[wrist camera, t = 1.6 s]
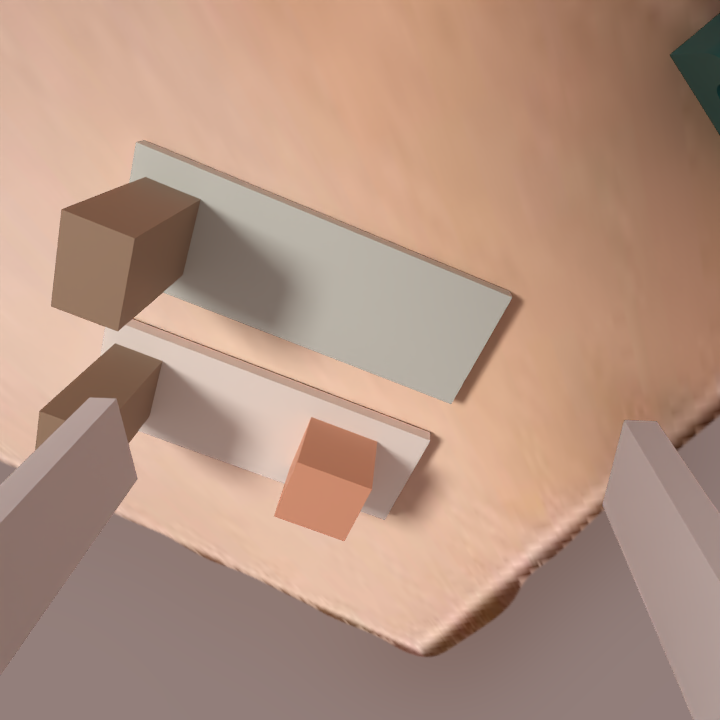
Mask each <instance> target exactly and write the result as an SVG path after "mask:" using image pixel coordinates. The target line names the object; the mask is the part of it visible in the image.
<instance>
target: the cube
mask: <svg viewBox="0 0 720 720" xmlns="http://www.w3.org/2000/svg"><path fill="white" fill-rule="evenodd" d="M376 449H377V441H374V440H372V439H369V438H366V437H364V436H361V435H358V434H356V433H353V432H350V431H348V430H345V429H342V428H340V427H337V426H334V425H332V424H329V423H326V422H324V421H321V420H318V419H316V418H313V417H311V419H310V421H309V424H308V426H307V428H306V431H305V433H304V435H303V438H302V440H301V443H300V445H299V447H298V450H297V452H296V454H295V457H294V459H293V461H292V464H291V466H290V469H289V472H288V475H287V478H286V481H285V484H284V487H283V491H282V494H281V497H280V500H279V503H278V506H277V509H276V512H275V515H274V516H275V517H278V518H280V519H283V520H286V521H289V522H292V523H295V524H297V525H300V526H303V527H306V528H309V529H311V530H314V531H317V532H320V533H323V534H326V535H328V536H331V537H334V538H337V539H340V540H342V541H345V539H346V537H347V535H348V533H349V532H350V530H351V528H352V526H353V524H354V522H355V520H356V518H357V517H358V515H359V513H360V511H361V509H362V507H363V505H364V504H365V502H366V500H367V498H368V496H369V494H370V492H371V490H372V485H373V476H374V467H375V458H376Z"/></svg>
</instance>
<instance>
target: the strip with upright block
mask: <svg viewBox="0 0 720 720" xmlns="http://www.w3.org/2000/svg"><path fill="white" fill-rule="evenodd" d="M162 293H166V294H168V295H171V296H174V297H176V298H179V299H181V300H184V301H187V302H189V303H192V304H194V305H197V306H199V307H202V308H205V309H207V310H210V311H212V312H215V313H217V314H220V315H223V316H225V317H228V318H230V319H233V320H235V321H238V322H241V323H243V324H246V325H248V326H251V327H254V328H256V329H259V330H261V331H264V332H266V333H269V334H272V335H274V336H277V337H279V338H282V339H284V340H287V341H290V342H292V343H295V344H297V345H300V346H303V347H305V348H308V349H310V350H313V351H315V352H318V353H321V354H323V355H326V356H328V357H331V358H333V359H336V360H339V361H341V362H344V363H346V364H349V365H352V366H354V367H357V368H359V369H362V370H364V371H367V372H370V373H372V374H375V375H377V376H380V377H382V378H385V379H388V380H390V381H393V382H395V383H398V384H401V385H403V386H406V387H408V388H411V389H413V390H416V391H419V392H421V393H424V394H426V395H429V396H431V397H434V398H437V399H439V400H442V401H444V402H447V403H450V404H452V402H453V400H454V398H455V397H456V395H457V393H458V391H459V390H460V388H461V386H462V384H463V383H464V381H465V379H466V377H467V376H468V374H469V372H470V371H471V369H472V367H473V365H474V364H475V362H476V360H477V358H478V357H479V355H480V353H481V351H482V350H483V348H484V346H485V344H486V343H487V341H488V339H489V337H490V336H491V334H492V332H493V330H494V329H495V327H496V325H497V323H498V322H499V320H500V318H501V316H502V315H503V313H504V311H505V309H506V308H507V306H508V304H509V302H510V301H511V299H512V295H511V293H510V291H508V290H505V289H503V288H500V287H498V286H496V285H493V284H491V283H488V282H486V281H483V280H481V279H479V278H476V277H474V276H471V275H469V274H466V273H464V272H462V271H459V270H457V269H454V268H452V267H450V266H447V265H445V264H442V263H440V262H437V261H435V260H433V259H430V258H428V257H425V256H423V255H421V254H418V253H416V252H413V251H411V250H408V249H406V248H404V247H401V246H399V245H396V244H394V243H392V242H389V241H387V240H384V239H382V238H379V237H377V236H375V235H372V234H370V233H367V232H365V231H363V230H360V229H358V228H355V227H353V226H350V225H348V224H346V223H343V222H341V221H338V220H336V219H334V218H331V217H329V216H326V215H324V214H321V213H319V212H317V211H314V210H312V209H309V208H307V207H304V206H302V205H300V204H297V203H295V202H292V201H290V200H288V199H285V198H283V197H280V196H278V195H275V194H273V193H271V192H268V191H266V190H263V189H261V188H259V187H256V186H254V185H251V184H249V183H246V182H244V181H242V180H239V179H237V178H234V177H232V176H230V175H227V174H225V173H222V172H220V171H217V170H215V169H213V168H210V167H208V166H205V165H203V164H201V163H198V162H196V161H193V160H191V159H188V158H186V157H184V156H181V155H179V154H176V153H174V152H172V151H169V150H167V149H164V148H162V147H159V146H157V145H155V144H152V143H150V142H147V141H145V140H143V141H139V142H136V146H135V152H134V158H133V164H132V170H131V176H130V182H129V183H128V184H126V185H123V186H120V187H118V188H115V189H113V190H110V191H108V192H105V193H102V194H100V195H97V196H95V197H92V198H90V199H87V200H85V201H82V202H79V203H77V204H74V205H72V206H69V207H67V208H64V209H62V210H61V219H60V228H59V237H58V247H57V256H56V265H55V274H54V283H53V292H52V301H51V306H52V307H54V308H57V309H60V310H62V311H65V312H67V313H70V314H73V315H75V316H78V317H81V318H83V319H86V320H89V321H91V322H94V323H97V324H99V325H102V326H105V327H107V328H110V329H112V330H115V331H119V330H120V329H121V328H122V327H124V326H125V325H126V324H127V323H128V322H129V321H131V320H132V319H133V318H134V317H135V316H136V315H137V314H139V313H140V312H141V311H142V310H143V309H144V308H145V307H147V306H148V305H149V304H150V303H151V302H152V301H154V300H155V299H156V298H157V297H158V296H159V295H160V294H162Z"/></svg>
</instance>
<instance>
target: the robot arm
mask: <svg viewBox="0 0 720 720" xmlns="http://www.w3.org/2000/svg"><path fill="white" fill-rule="evenodd" d="M136 480H137V475H136V471H135V467H134V463H133V459H132V456H131V452H130V448H129V444H128V440H127V436H126V433H125V429H124V425H123V421H122V417H121V414H120V410H119V406H118V402H117V399H115V398H92V397H89V398H88V399H87V400H86V401H85V402H84V403H83V404H82V405H81V406H80V407H79V408H78V409H77V410H76V411H75V412H74V413H73V414H72V415H71V416H70V417H69V418H68V419H67V420H66V421H65V422H64V423H63V424H62V425H61V426H60V427H59V428H58V429H57V430H56V431H55V432H54V433H53V434H52V435H51V436H50V437H49V438H48V439H47V440H46V441H45V442H44V443H42V444H41V445H40V446H39V447H38V448H37V449H36V450H35V451H34V452H33V453H32V454H31V455H30V456H29V457H28V458H27V459H26V460H25V461H24V462H23V463H22V464H21V465H20V466H19V467H18V468H17V469H16V470H15V471H14V472H13V473H12V474H11V475H10V476H9V477H8V478H7V479H6V480H5V481H4V482H3V483H2V484H1V485H0V675H1V674H2V672H3V671H4V669H5V668H6V667H7V665H8V664H9V662H10V661H11V659H12V658H13V657H14V655H15V654H16V652H17V651H18V649H19V648H20V647H21V645H22V644H23V642H24V641H25V639H26V638H27V637H28V635H29V634H30V632H31V631H32V629H33V628H34V627H35V625H36V624H37V622H38V621H39V619H40V618H41V616H42V615H43V614H44V612H45V611H46V609H47V608H48V606H49V605H50V603H51V602H52V600H53V599H54V598H55V596H56V595H57V594H58V592H59V590H60V589H61V588H62V586H63V585H64V584H65V582H66V581H67V579H68V578H69V576H70V575H71V573H72V572H73V570H74V569H75V568H76V566H77V565H78V563H79V562H80V561H81V559H82V558H83V556H84V555H85V553H86V552H87V551H88V549H89V548H90V546H91V545H92V543H93V542H94V541H95V539H96V537H97V536H98V535H99V533H100V532H101V530H102V529H103V528H104V526H105V525H106V523H107V522H108V520H109V519H110V517H111V516H112V515H113V513H114V512H115V510H116V509H117V508H118V506H119V505H120V503H121V502H122V500H123V499H124V498H125V496H126V495H127V493H128V492H129V490H130V489H131V487H132V486H133V485H134V483H135V482H136ZM603 508H604V510H605V512H606V514H607V517H608V519H609V522H610V524H611V526H612V529H613V531H614V533H615V536H616V538H617V541H618V543H619V545H620V548H621V550H622V552H623V555H624V557H625V559H626V562H627V564H628V566H629V569H630V571H631V574H632V576H633V578H634V581H635V583H636V585H637V588H638V590H639V593H640V595H641V597H642V600H643V602H644V604H645V607H646V609H647V611H648V614H649V616H650V619H651V621H652V623H653V626H654V628H655V630H656V633H657V635H658V637H659V640H660V642H661V645H662V647H663V649H664V652H665V654H666V656H667V659H668V661H669V663H670V666H671V668H672V671H673V673H674V675H675V678H676V680H677V682H678V685H679V687H680V689H681V692H682V694H683V697H684V699H685V701H686V704H687V706H688V708H689V711H690V713H691V715H692V718H693V720H720V513H719V512H718V511H717V509H716V508H715V506H714V505H713V503H712V502H711V500H710V499H709V498H708V496H707V495H706V493H705V491H704V490H703V489H702V487H701V486H700V484H699V483H698V481H697V480H696V478H695V477H694V475H693V474H692V473H691V471H690V469H689V468H688V467H687V465H686V464H685V462H684V461H683V459H682V458H681V456H680V455H679V453H678V452H677V450H676V449H675V447H674V446H673V445H672V443H671V442H670V440H669V439H668V437H667V436H666V434H665V433H664V431H663V430H662V428H661V427H660V425H659V424H658V422H657V421H638V420H624V423H623V427H622V431H621V434H620V438H619V442H618V446H617V450H616V454H615V458H614V462H613V466H612V470H611V473H610V477H609V481H608V485H607V489H606V493H605V497H604V501H603Z"/></svg>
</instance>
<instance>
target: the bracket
mask: <svg viewBox="0 0 720 720" xmlns="http://www.w3.org/2000/svg"><path fill="white" fill-rule="evenodd" d="M670 56H671V58H672V59H673V61H674V63H675V64H676V66H677V67H678V69H679V71H680V72H681V74H682V75H683V77H684V79H685V80H686V82H687V83H688V85H689V87H690V88H691V90H692V91H693V93H694V95H695V96H696V98H697V99H698V101H699V103H700V104H701V106H702V107H703V109H704V111H705V112H706V114H707V115H708V117H709V119H710V120H711V122H712V123H713V125H714V127H715V128H716V130H717V131H718V133H719V135H720V13H719V14H718V15H717V16H716V17H714V18H713V19H712V20H711V21H710V22H708V23H707V24H706V25H705V26H704V27H702V28H701V29H700V30H699V31H698V32H696V33H695V34H694V35H693V36H692V37H691V38H689V39H688V40H687V41H686V42H685V43H683V44H682V45H681V46H680V47H679V48H677V49H676V50H675V51H674V52H673V53H671V54H670Z"/></svg>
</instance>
